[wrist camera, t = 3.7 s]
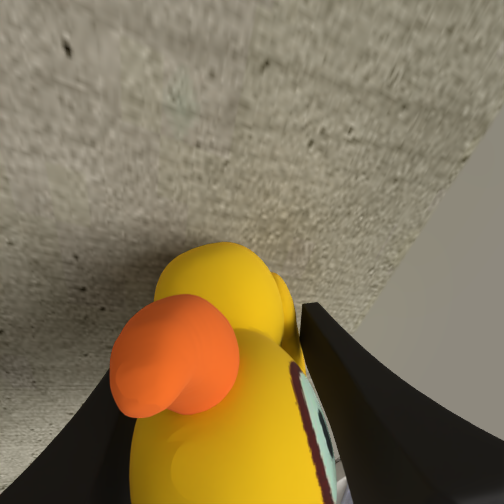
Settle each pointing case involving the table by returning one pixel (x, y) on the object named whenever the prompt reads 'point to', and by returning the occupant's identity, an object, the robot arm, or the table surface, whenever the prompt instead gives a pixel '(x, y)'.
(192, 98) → the table surface
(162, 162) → the table surface
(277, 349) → the duckling
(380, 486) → the robot arm
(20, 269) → the table surface
